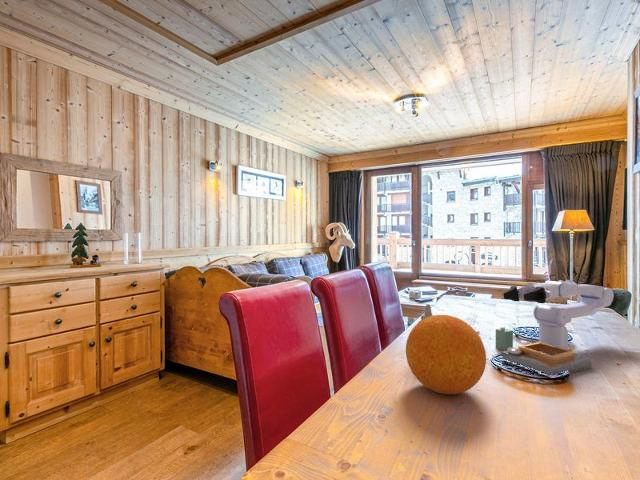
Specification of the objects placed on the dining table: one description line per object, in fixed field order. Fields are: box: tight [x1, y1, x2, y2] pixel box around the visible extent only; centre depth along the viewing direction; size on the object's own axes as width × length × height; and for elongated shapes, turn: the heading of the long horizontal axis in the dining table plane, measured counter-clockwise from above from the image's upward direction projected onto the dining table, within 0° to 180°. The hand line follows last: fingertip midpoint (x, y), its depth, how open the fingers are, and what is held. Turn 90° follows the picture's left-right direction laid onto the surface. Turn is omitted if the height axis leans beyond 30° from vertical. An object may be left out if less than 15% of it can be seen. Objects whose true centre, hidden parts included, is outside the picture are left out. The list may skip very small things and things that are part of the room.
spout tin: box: [495, 326, 514, 352], centre depth 124 cm, size 4×4×8 cm
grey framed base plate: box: [501, 341, 593, 375], centre depth 109 cm, size 20×16×5 cm
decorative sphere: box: [405, 314, 487, 395], centre depth 90 cm, size 20×20×20 cm
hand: (514, 296), depth 117 cm, fingers open, 7 cm apart
